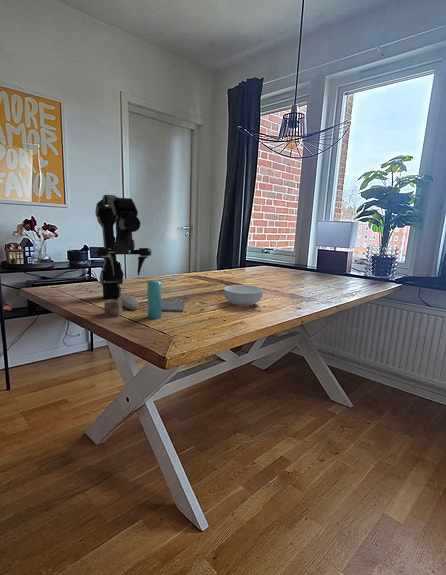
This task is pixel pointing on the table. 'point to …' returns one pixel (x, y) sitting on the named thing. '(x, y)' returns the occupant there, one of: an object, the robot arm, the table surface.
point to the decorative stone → (130, 302)
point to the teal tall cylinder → (154, 299)
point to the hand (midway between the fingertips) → (125, 275)
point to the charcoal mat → (172, 306)
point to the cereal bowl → (243, 294)
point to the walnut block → (113, 307)
